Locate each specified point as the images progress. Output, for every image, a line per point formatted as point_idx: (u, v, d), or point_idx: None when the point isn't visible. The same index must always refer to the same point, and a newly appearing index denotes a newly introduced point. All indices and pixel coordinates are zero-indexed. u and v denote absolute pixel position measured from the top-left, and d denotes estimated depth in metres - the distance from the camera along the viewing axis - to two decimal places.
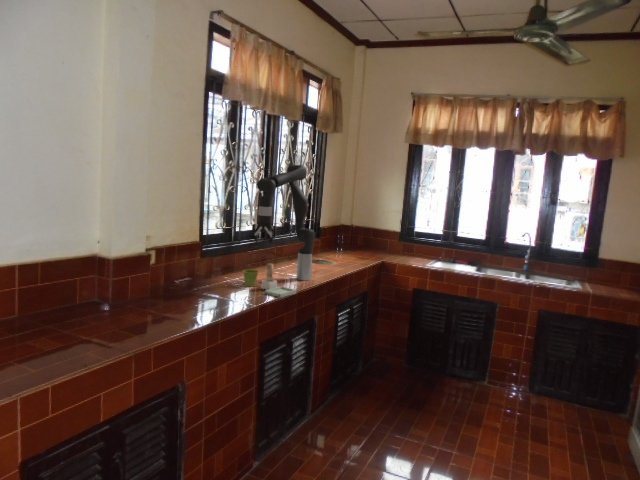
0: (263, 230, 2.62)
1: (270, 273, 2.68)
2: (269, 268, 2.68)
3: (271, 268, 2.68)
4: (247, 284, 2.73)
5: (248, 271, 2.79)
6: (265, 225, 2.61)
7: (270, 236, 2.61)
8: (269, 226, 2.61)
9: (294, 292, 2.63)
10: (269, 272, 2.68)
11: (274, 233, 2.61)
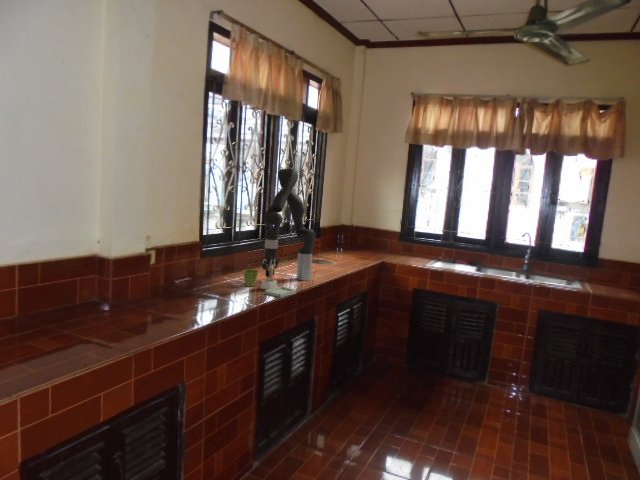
0: (271, 262, 2.68)
1: (270, 273, 2.68)
2: None
3: (271, 268, 2.68)
4: (247, 284, 2.73)
5: (248, 271, 2.79)
6: (273, 257, 2.69)
7: (273, 269, 2.70)
8: (275, 257, 2.71)
9: (294, 292, 2.63)
10: None
11: (276, 265, 2.72)
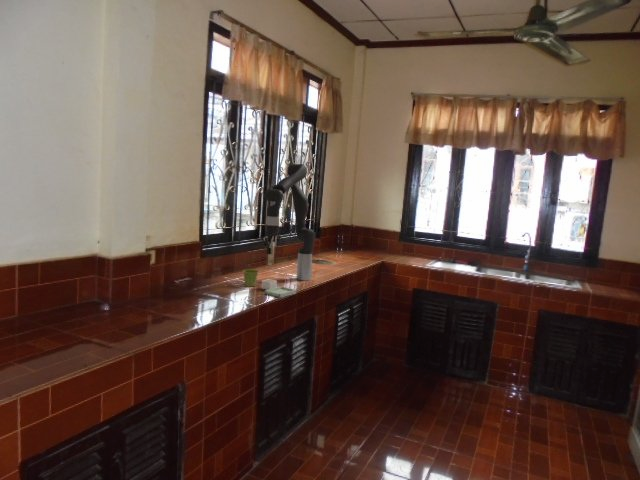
0: (273, 239, 2.66)
1: (271, 250, 2.66)
2: None
3: (272, 245, 2.66)
4: (247, 284, 2.73)
5: (248, 271, 2.79)
6: (274, 234, 2.67)
7: (275, 246, 2.68)
8: (277, 235, 2.69)
9: (294, 292, 2.63)
10: None
11: (278, 243, 2.70)
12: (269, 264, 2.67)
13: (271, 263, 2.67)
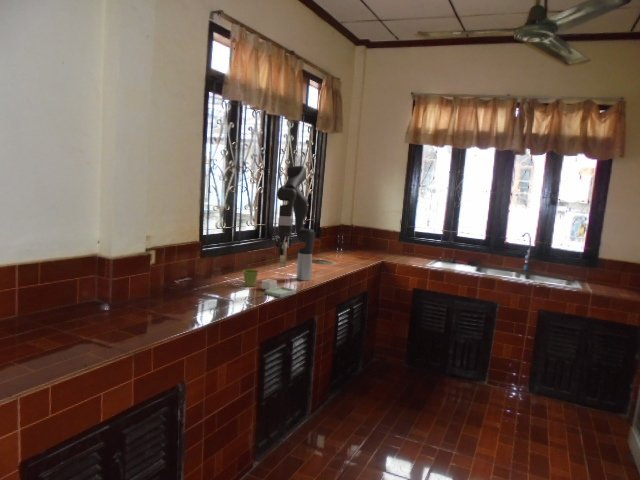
0: (285, 240, 2.57)
1: (284, 251, 2.57)
2: (283, 246, 2.57)
3: (285, 246, 2.57)
4: (247, 284, 2.73)
5: (248, 271, 2.79)
6: (287, 235, 2.58)
7: (287, 247, 2.59)
8: (289, 235, 2.60)
9: (294, 292, 2.63)
10: (283, 250, 2.57)
11: (290, 243, 2.62)
12: (281, 265, 2.58)
13: (283, 264, 2.58)
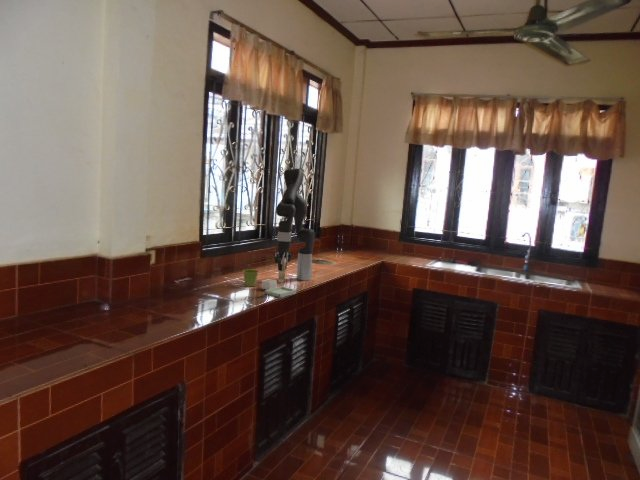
0: (284, 256, 2.58)
1: (283, 267, 2.58)
2: (282, 262, 2.58)
3: (284, 262, 2.58)
4: (247, 284, 2.73)
5: (248, 271, 2.79)
6: (285, 250, 2.59)
7: (286, 262, 2.61)
8: (288, 250, 2.61)
9: (294, 292, 2.63)
10: (282, 266, 2.58)
11: (289, 259, 2.63)
12: (280, 281, 2.59)
13: (282, 280, 2.59)
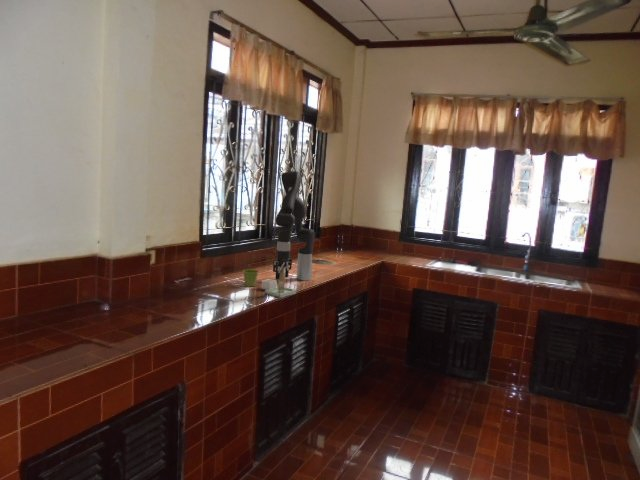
0: (284, 265, 2.59)
1: (282, 277, 2.59)
2: (281, 272, 2.59)
3: (283, 272, 2.59)
4: (247, 284, 2.73)
5: (248, 271, 2.79)
6: (285, 260, 2.60)
7: (288, 270, 2.63)
8: (288, 260, 2.62)
9: (294, 292, 2.63)
10: (281, 276, 2.59)
11: (290, 266, 2.64)
12: (280, 291, 2.60)
13: (282, 290, 2.60)
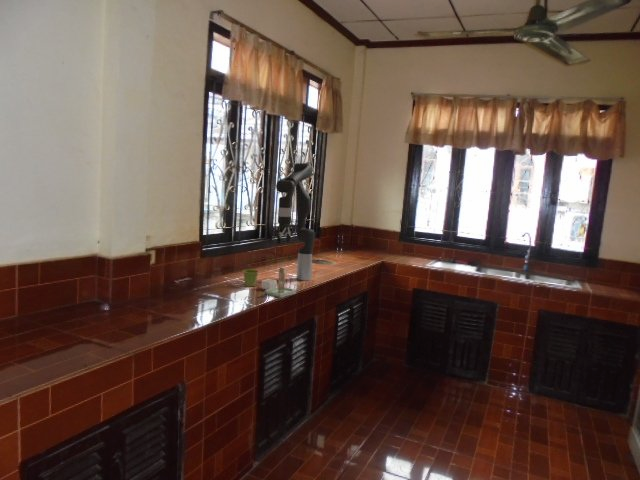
0: (285, 231, 2.65)
1: (282, 277, 2.59)
2: (281, 272, 2.59)
3: (283, 272, 2.59)
4: (247, 284, 2.73)
5: (248, 271, 2.79)
6: (286, 225, 2.66)
7: (289, 235, 2.69)
8: (289, 226, 2.68)
9: (294, 292, 2.63)
10: (281, 276, 2.59)
11: (292, 232, 2.71)
12: (280, 291, 2.60)
13: (282, 290, 2.60)
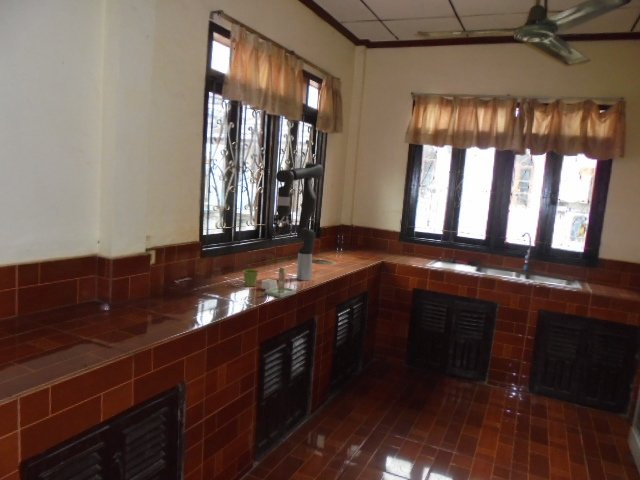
0: (283, 219, 2.74)
1: (282, 277, 2.59)
2: (281, 272, 2.59)
3: (283, 272, 2.59)
4: (247, 284, 2.73)
5: (248, 271, 2.79)
6: (285, 214, 2.74)
7: (288, 224, 2.78)
8: (287, 215, 2.76)
9: (294, 292, 2.63)
10: (281, 276, 2.59)
11: (290, 221, 2.79)
12: (280, 291, 2.60)
13: (282, 290, 2.60)
